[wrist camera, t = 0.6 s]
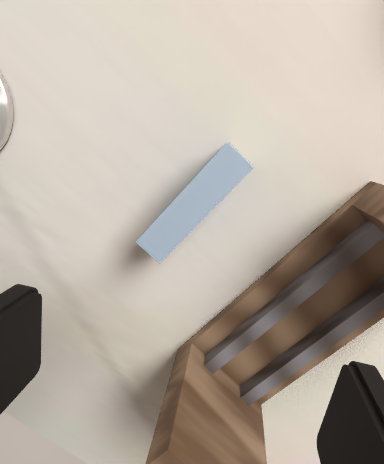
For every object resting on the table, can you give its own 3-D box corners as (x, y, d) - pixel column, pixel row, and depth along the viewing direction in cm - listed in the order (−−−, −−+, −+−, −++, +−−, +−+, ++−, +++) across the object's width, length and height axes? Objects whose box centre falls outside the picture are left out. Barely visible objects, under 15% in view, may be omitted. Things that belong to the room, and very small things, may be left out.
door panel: (175, 238, 37) (159, 263, 29) (156, 221, 36) (135, 242, 29) (249, 162, 33) (253, 168, 26) (229, 142, 33) (226, 142, 25)
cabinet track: (243, 407, 42) (247, 551, 27) (178, 349, 41) (144, 467, 26) (447, 259, 33) (617, 354, 18) (370, 181, 32) (485, 214, 17)
